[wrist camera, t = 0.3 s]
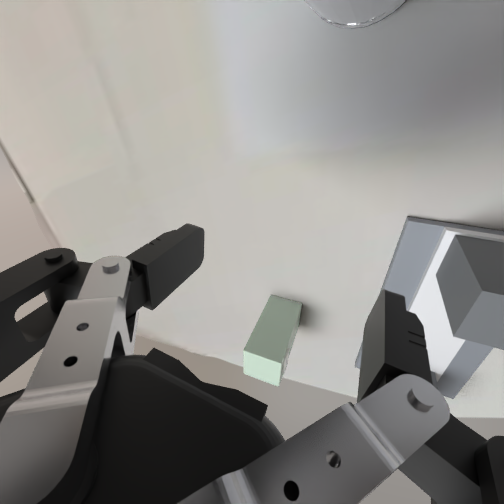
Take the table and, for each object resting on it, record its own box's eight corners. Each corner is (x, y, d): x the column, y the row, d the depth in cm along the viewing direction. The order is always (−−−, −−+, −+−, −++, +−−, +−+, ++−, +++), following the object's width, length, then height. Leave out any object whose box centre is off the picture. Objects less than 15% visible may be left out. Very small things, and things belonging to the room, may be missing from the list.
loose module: (271, 294, 38) (243, 350, 30) (303, 303, 37) (283, 364, 29) (269, 316, 41) (243, 373, 33) (300, 325, 39) (280, 387, 31)
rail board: (407, 216, 26) (418, 274, 18) (566, 240, 22) (663, 325, 15) (355, 361, 39) (349, 430, 31) (451, 391, 35) (471, 479, 27)
